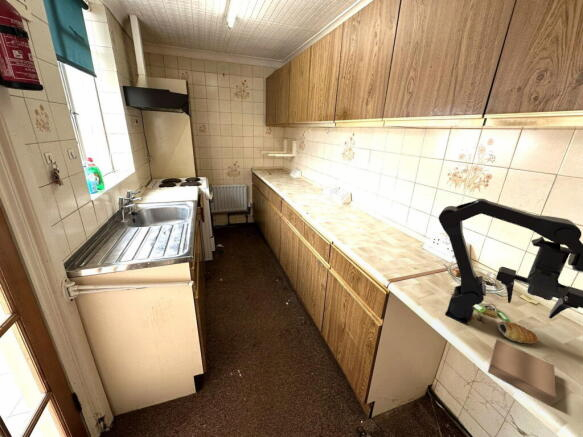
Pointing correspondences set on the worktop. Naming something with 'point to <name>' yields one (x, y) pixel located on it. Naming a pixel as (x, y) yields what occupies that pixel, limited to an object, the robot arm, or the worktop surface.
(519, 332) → the pastry
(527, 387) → the walnut base
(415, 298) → the worktop surface
